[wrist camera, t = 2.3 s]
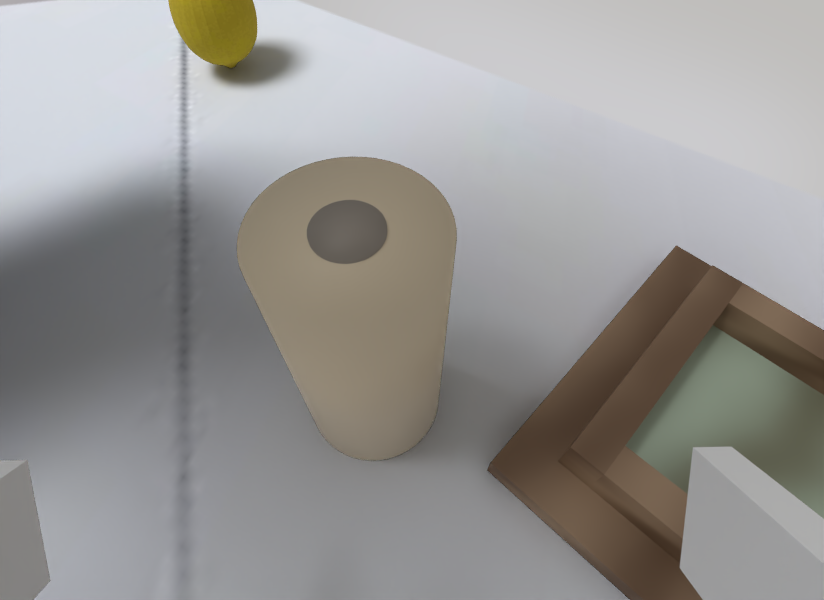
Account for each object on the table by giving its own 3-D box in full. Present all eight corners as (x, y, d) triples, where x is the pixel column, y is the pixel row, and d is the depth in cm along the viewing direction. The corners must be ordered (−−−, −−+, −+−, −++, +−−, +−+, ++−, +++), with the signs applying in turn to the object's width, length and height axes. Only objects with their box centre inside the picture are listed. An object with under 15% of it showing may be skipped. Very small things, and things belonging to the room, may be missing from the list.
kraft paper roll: (285, 398, 24) (190, 232, 14) (376, 319, 26) (352, 127, 16) (373, 489, 22) (338, 371, 11) (464, 394, 24) (502, 226, 14)
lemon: (236, 97, 36) (196, -23, 30) (179, 74, 38) (128, -45, 31) (283, 58, 39) (256, -60, 32) (227, 38, 40) (190, -79, 34)
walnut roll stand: (487, 470, 22) (497, 449, 19) (666, 259, 28) (693, 220, 26) (876, 823, 16) (970, 863, 13) (996, 456, 22) (1076, 434, 20)
